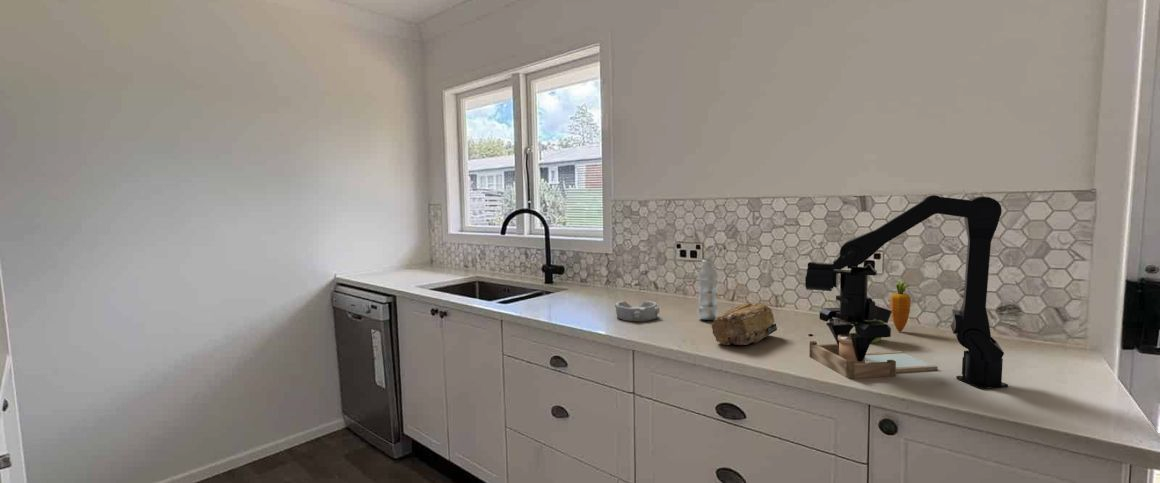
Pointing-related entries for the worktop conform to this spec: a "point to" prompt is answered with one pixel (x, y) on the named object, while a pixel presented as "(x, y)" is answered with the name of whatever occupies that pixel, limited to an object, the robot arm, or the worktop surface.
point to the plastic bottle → (707, 291)
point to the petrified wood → (744, 324)
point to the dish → (637, 311)
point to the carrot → (900, 306)
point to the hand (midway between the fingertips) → (852, 357)
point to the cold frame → (849, 363)
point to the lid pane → (900, 361)
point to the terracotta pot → (847, 348)
